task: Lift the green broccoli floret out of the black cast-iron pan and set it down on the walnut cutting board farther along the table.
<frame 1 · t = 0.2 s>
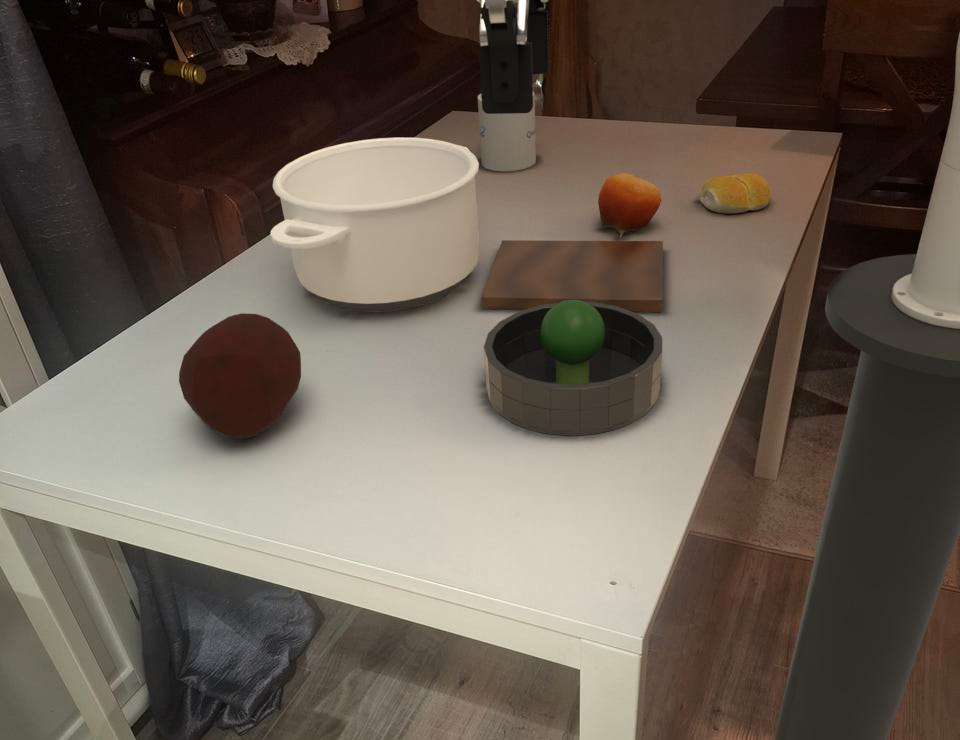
hand: (517, 91, 60), 30 cm above the table, tool pointing down, fingers open, 9 cm apart
pan: (572, 387, 87), on the table
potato: (253, 423, 86), on the table
bread roll: (733, 205, 121), on the table
mug: (512, 159, 142), on the table
broccoli: (572, 382, 87), resting on pan
fruit: (627, 228, 117), on the table
board: (576, 279, 106), on the table
pot: (391, 282, 109), on the table
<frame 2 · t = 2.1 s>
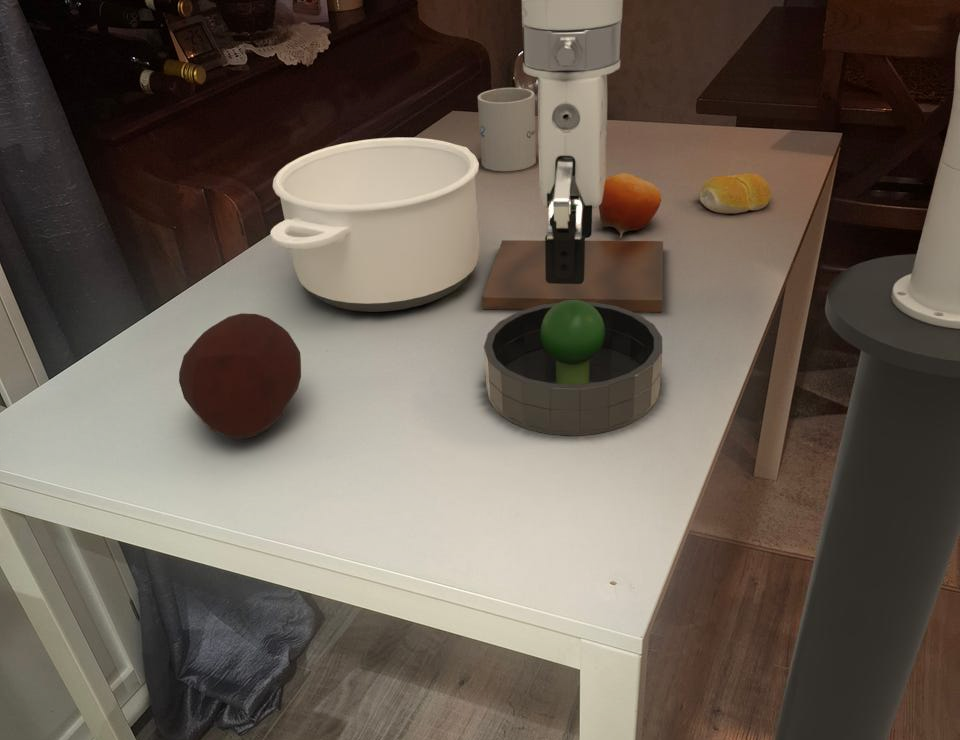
hand: (569, 258, 79), 13 cm above the table, tool pointing down, fingers open, 9 cm apart
nothing on the table moved.
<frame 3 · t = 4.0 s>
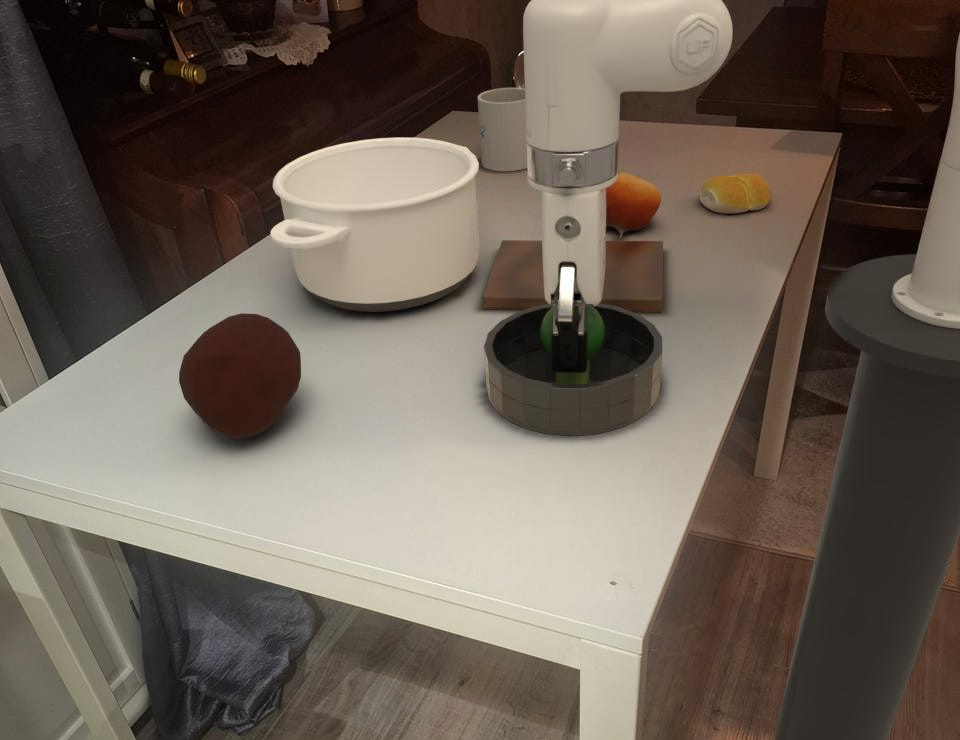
hand: (572, 351, 84), 4 cm above the table, tool pointing down, fingers closed on broccoli, 5 cm apart
broccoli: (572, 382, 87), point 1 cm above the table, touching gripper, pan
everything else where it was.
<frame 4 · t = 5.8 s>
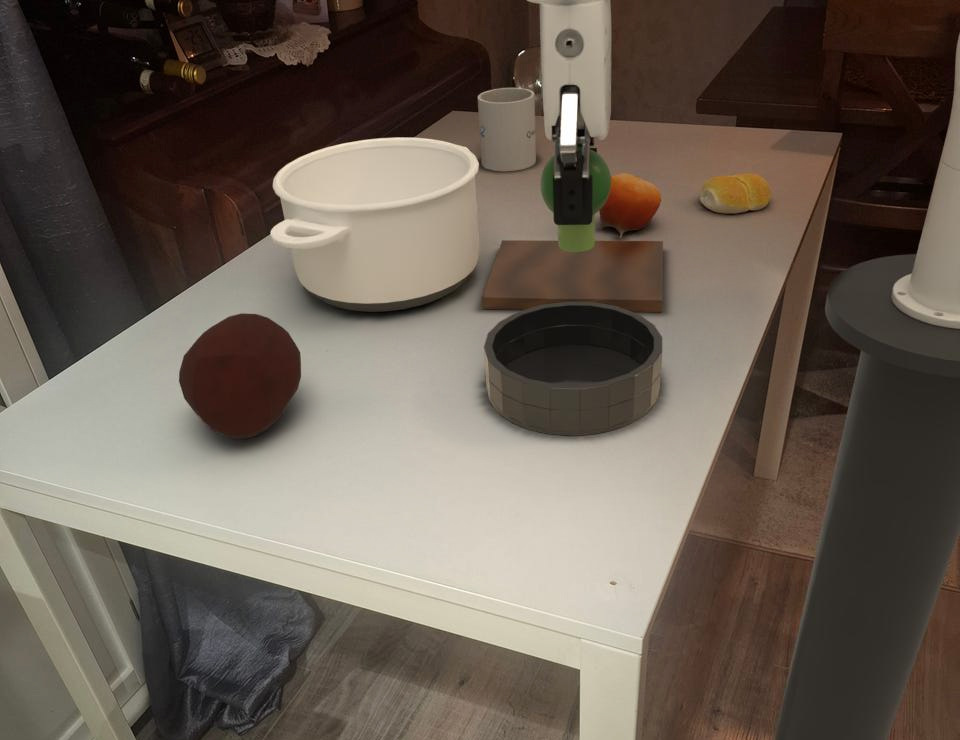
hand: (575, 206, 77), 18 cm above the table, tool pointing down, fingers closed on broccoli, 5 cm apart
broccoli: (576, 244, 79), point 14 cm above the table, touching gripper
everything else where it was.
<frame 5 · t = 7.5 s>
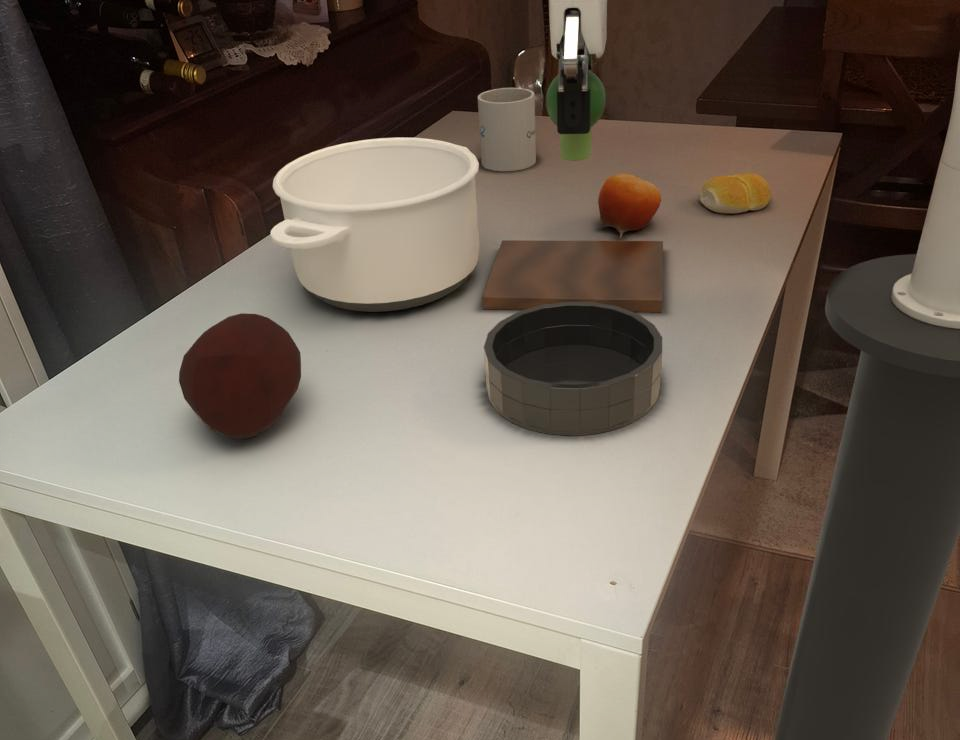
hand: (576, 121, 91), 19 cm above the table, tool pointing down, fingers closed on broccoli, 5 cm apart
broccoli: (575, 155, 93), point 16 cm above the table, touching gripper
everything else where it was.
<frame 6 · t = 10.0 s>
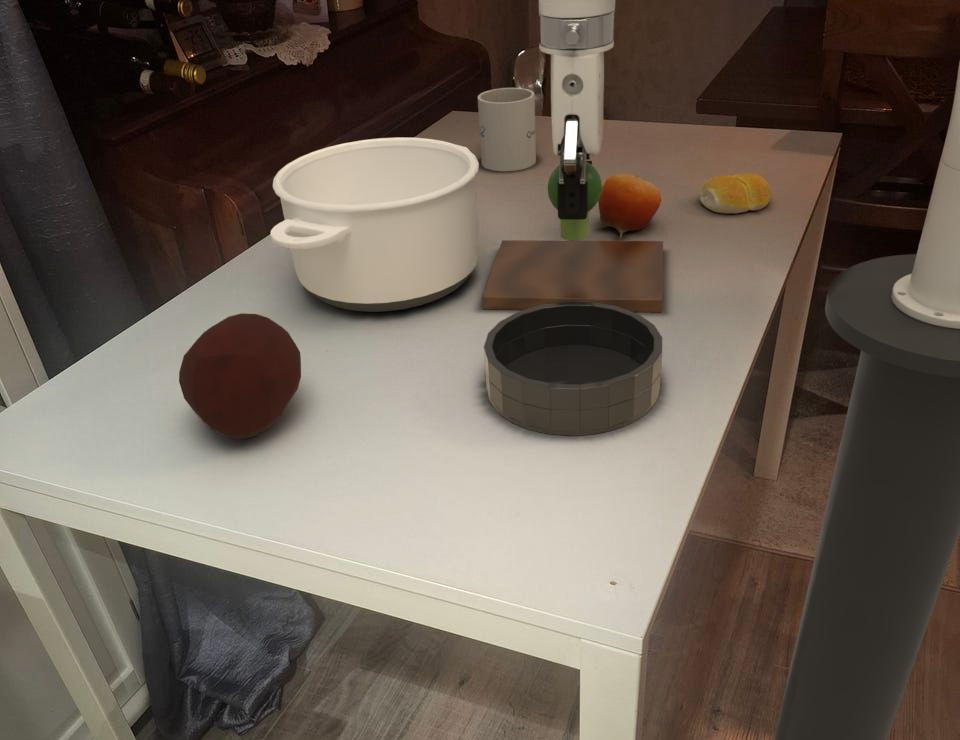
hand: (574, 205, 100), 9 cm above the table, tool pointing down, fingers closed on broccoli, 5 cm apart
broccoli: (574, 235, 102), point 5 cm above the table, touching gripper
everything else where it was.
when the fingers open (5 cm above the table, at t = 11.5 s): broccoli stays where it is, resting on board.
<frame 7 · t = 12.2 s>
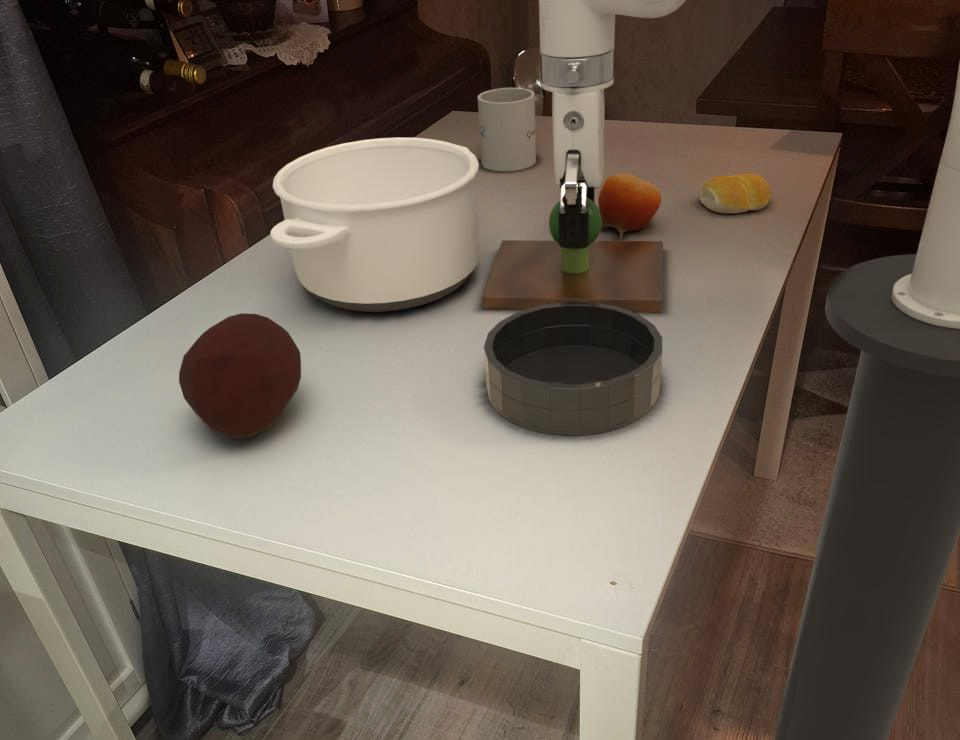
hand: (577, 229, 102), 6 cm above the table, tool pointing down, fingers open, 9 cm apart
broccoli: (575, 267, 105), point 1 cm above the table, touching board
everything else where it was.
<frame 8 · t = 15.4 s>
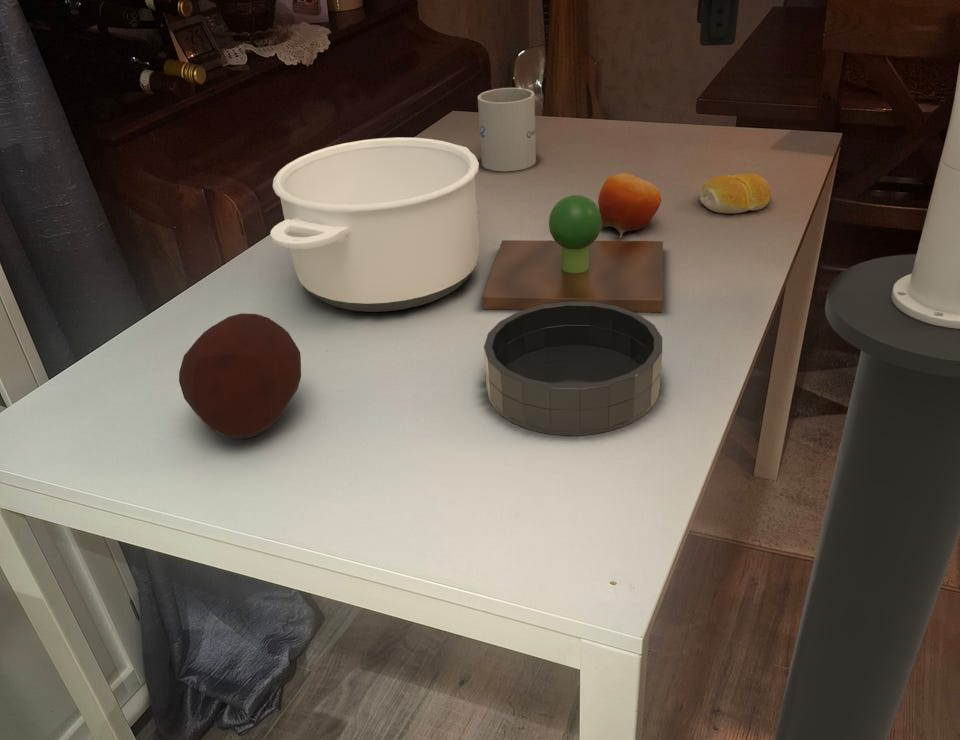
hand: (714, 32, 87), 26 cm above the table, tool pointing down, fingers open, 9 cm apart
nothing on the table moved.
at the end: broccoli inside the target area on the board (0.1 cm from its centre), point 1.5 cm above the board's base; broccoli touching board; broccoli tilted 0° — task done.
